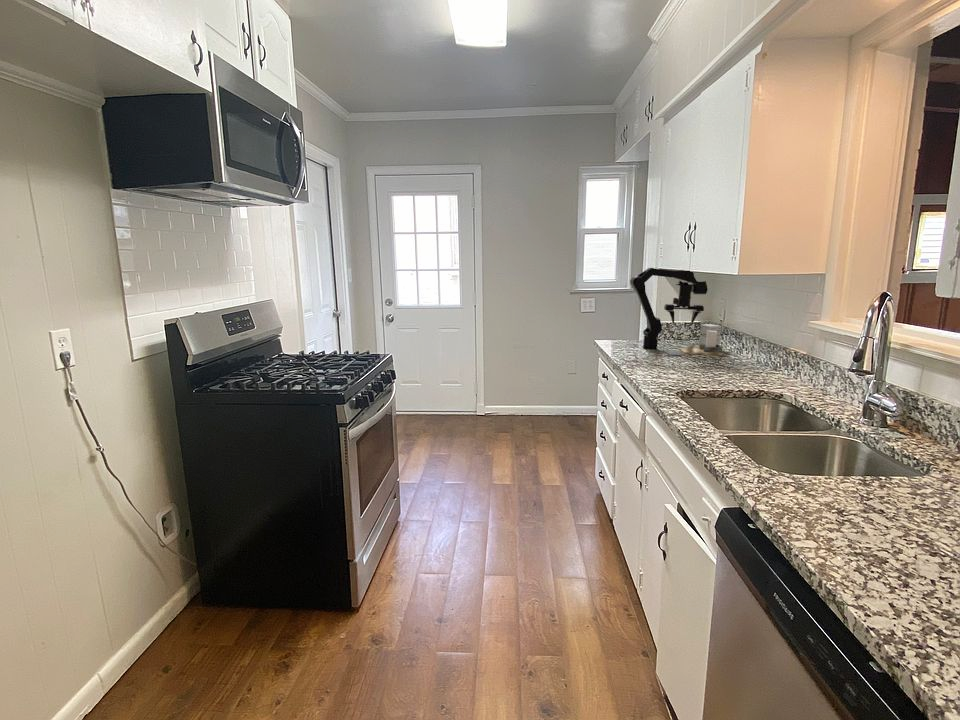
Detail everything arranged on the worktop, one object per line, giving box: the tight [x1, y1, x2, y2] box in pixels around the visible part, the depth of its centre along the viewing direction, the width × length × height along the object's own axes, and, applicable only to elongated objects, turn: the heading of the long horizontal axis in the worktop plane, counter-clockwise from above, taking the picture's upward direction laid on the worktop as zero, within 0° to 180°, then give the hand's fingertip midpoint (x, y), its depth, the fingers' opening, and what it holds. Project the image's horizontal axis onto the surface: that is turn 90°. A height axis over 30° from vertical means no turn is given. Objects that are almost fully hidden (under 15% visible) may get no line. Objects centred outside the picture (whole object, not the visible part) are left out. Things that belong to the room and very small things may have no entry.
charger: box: [706, 330, 717, 347], centre depth 266 cm, size 5×4×10 cm
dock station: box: [679, 343, 723, 356], centre depth 266 cm, size 19×13×4 cm
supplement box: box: [698, 323, 722, 348], centre depth 276 cm, size 7×7×13 cm
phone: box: [666, 349, 683, 357], centre depth 262 cm, size 6×12×1 cm, turn 163°
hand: (682, 324), depth 274 cm, fingers open, 9 cm apart
